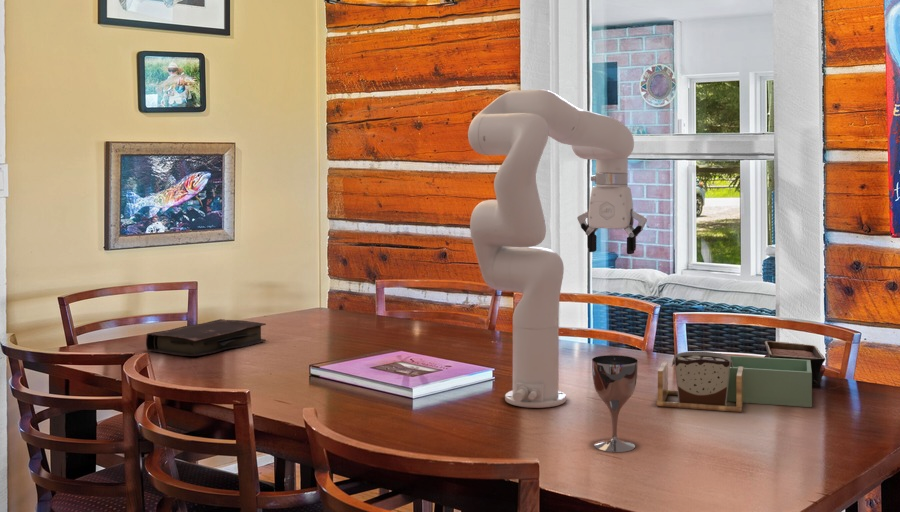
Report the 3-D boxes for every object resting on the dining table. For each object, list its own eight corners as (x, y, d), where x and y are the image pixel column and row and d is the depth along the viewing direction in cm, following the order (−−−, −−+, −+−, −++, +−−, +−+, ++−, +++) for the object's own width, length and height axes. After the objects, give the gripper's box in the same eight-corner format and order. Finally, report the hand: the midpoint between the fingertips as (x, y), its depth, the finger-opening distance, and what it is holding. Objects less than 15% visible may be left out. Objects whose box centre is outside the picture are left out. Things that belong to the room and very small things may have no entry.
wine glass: (633, 438, 173) (633, 355, 173) (641, 452, 165) (641, 364, 165) (589, 439, 172) (589, 355, 172) (594, 453, 164) (594, 365, 165)
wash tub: (811, 407, 195) (811, 372, 195) (722, 401, 199) (722, 367, 199) (810, 392, 207) (810, 359, 207) (726, 387, 212) (726, 355, 212)
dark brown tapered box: (825, 383, 223) (821, 339, 225) (828, 389, 206) (824, 341, 208) (761, 384, 227) (757, 341, 229) (759, 390, 210) (756, 343, 212)
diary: (145, 351, 248) (145, 331, 249) (218, 335, 270) (218, 317, 270) (196, 359, 239) (196, 338, 239) (268, 342, 261) (268, 323, 261)
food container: (729, 399, 200) (729, 351, 200) (733, 407, 194) (733, 357, 194) (669, 398, 202) (669, 350, 202) (671, 405, 196) (671, 356, 196)
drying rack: (741, 412, 190) (741, 377, 190) (656, 406, 195) (657, 371, 195) (743, 399, 201) (743, 365, 201) (663, 393, 206) (663, 360, 206)
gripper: (572, 180, 230) (571, 252, 230) (640, 181, 222) (640, 256, 222) (584, 180, 237) (584, 249, 237) (651, 181, 229) (651, 253, 229)
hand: (611, 252), depth 229 cm, fingers open, 9 cm apart
